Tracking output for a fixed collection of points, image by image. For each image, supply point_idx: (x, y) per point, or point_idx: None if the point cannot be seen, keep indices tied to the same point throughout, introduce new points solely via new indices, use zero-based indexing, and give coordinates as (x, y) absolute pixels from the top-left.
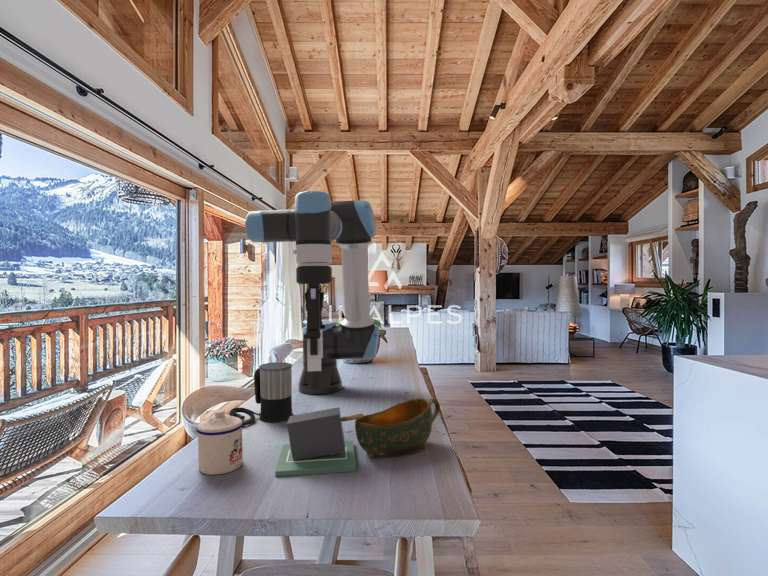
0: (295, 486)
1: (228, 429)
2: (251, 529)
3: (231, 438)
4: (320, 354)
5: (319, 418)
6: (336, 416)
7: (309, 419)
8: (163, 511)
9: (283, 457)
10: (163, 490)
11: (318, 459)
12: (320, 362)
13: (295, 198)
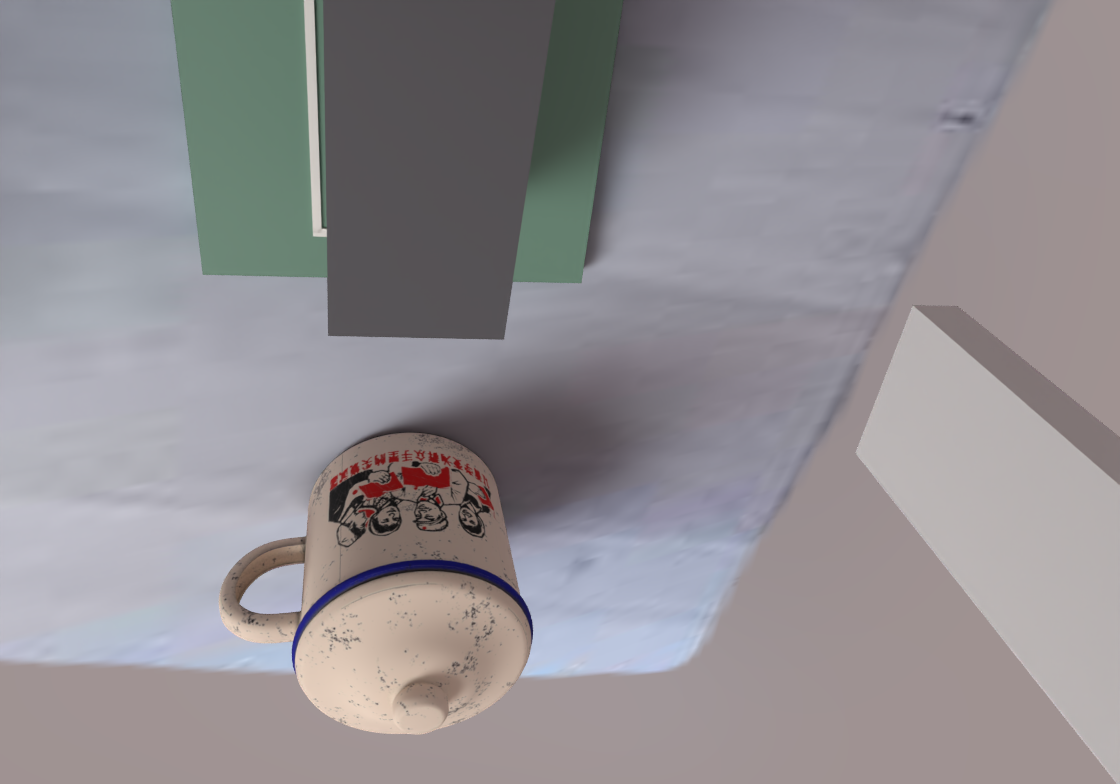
0: (704, 174)
1: (515, 605)
2: None
3: (498, 558)
4: (1116, 446)
5: (536, 118)
6: None
7: (517, 196)
8: (717, 565)
9: None
10: (573, 610)
11: None
12: (1029, 374)
13: None
